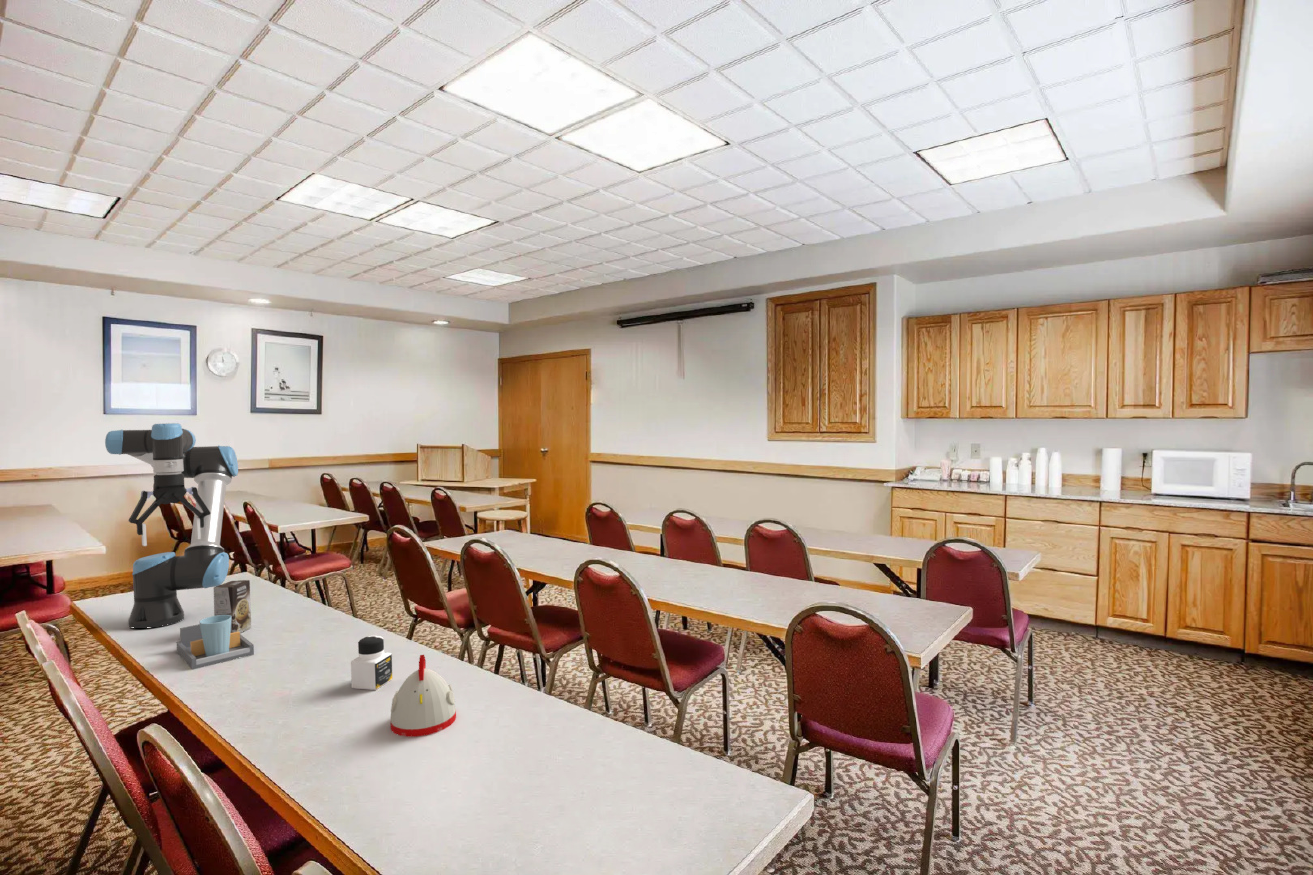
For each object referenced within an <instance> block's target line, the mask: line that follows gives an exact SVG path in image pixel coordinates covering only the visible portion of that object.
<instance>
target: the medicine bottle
mask: <svg viewBox="0 0 1313 875" xmlns="http://www.w3.org/2000/svg"><path fill="white" fill-rule="evenodd" d="M357 644H358V646H357V647H358V649H357V650H358V651H357V653H358V656H357V657H356V658H354V659H352V660H351V661H350V673H351V674H350V677H351V678H350V679H351V688H352V689H357V690H358V689H359V690H367V691H377V690H378V689H380V688H381V687H383V686H384V685H386V684H387V683H389V682H390V681H392V680H393V660H392V659H393V654H392V652H385V640H384V638H383V637H382V636H381V635H369V636H365V637H363V638H361V639H359V641H358V642H357Z"/></svg>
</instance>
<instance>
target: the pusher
mask: <svg viewBox="0 0 1313 875" xmlns="http://www.w3.org/2000/svg"><path fill="white" fill-rule="evenodd" d="M240 634H241V633H240V632H239V631H238V632H233V633H230V644H229V648H233V647H237V646H240ZM190 646H191V653H192V654H193V655H194V656H198V655H202V654H205V649H204V644H203V639H201V640H196V641H192V642H190Z"/></svg>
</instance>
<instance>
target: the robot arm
mask: <svg viewBox="0 0 1313 875" xmlns="http://www.w3.org/2000/svg"><path fill="white" fill-rule="evenodd" d="M196 440H197V439H196V436H195V434H194V433H193V432H192V431H191V430H189V429H187V428H182V425H181V423H178V422H177V423H175V422H172V423H169V422H168V423H154V424H153V425H151V429H125V430H124V429H118V430H110V431H108V432H107V434H106V436H105V439H104V443H105V449H106V451H107V453H109V454H110V455H119V456H120V455H127V456H131V457H132V458H135V459H137V460H139V461H142V462H144V463H147V464H148V465H150V466H151V467H152V469H153V473H154V475H153V490H152V491H149V490H147V491H146V490H141V491H140V499H139V500H138V503H137V504H136V505H135V508H134V509H133V511H132V513H131V514H130V517H129V518H128V521H127V522H129V523H130V524H135V525H136V534H137V535H138V536H141V545H142V546H143V547H147V546H148V543H147V524H146V523H144V522H145V521H146V520H147V519H148V518H149V517H150V516H151V515H152V513H153V512H154V511H155V510H156V509H157V508H158V507H159V506H160V505H161V504H163V505H168V504H178V503H179V502H180V503H181V504H183V505H184V506H185V507H186V508H187V509H189V511H191V512H192V513H193V515H194V516H193V523H192V529H191V530H192V531H191V532H192V533H191V540H190V545H188V546H187V547H185V548H184V552H183V555H176V552H174V551H166V552H160V553H156V554H151V555H148V556H143V557H140V558H137V559H136V560H135V561H134V562H133V564H132V573H131V575H132V586H133V606H132V608H131V612H130V615H129V618H128V624H127V625H128V628H129V627H134V628H147V627H157V628H159V627H158V626H162V625H167V624H171V623H174V624H177V623H179V622H181V621H183V620H184V619H185V613H184V612H185V611H184V609H183V607H182V605H181V603H180V601H179V598H178V592H177V591H183V590H184V591H185V590H197V589H208V588H214V587H216V586H219V585H222V584H224V582H225V580H226V578H227V575H228V572H229V567H230V557H229V554H228V553H227V552H225V548H224V547H222V546H221V536H222V528H223V517H224V508H225V501H226V500H225V498H226V489H227V485H229V484H231V483H232V479H233V478H232V477H237V476H238V474H239V465H238V458H237V457H238V456H237V455H236V451H235V449H234V448H233V447H232V446H230V445H216V446H215V445H214V446H195V445H196ZM185 479H193V481H194V482H195V483H196V484H197V487H196V486H191V487H188V488H187V487H185ZM187 493H188V494H189V495H191V496H192V498H193V499H194V500H195V506H194V505H193V504H192V503H190V502H189V501H188V499H186V498H185V496H186V494H187ZM151 496H152V497H154V498H155V500H153V502H152V503H151V504H150V505H149V507H148V508H147V509H146V510H145V511H144V512H143V513H142V514H141V512H142V509H143V507H144V506H145V504H146V502H147V500H148V499H150V498H151ZM140 514H141V515H140ZM139 515H140V517H139ZM182 619H183V620H182ZM180 620H181V621H180ZM178 621H179V622H178ZM176 622H177V623H176ZM171 625H172V624H171ZM167 626H168V625H167ZM162 627H163V626H162Z"/></svg>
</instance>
